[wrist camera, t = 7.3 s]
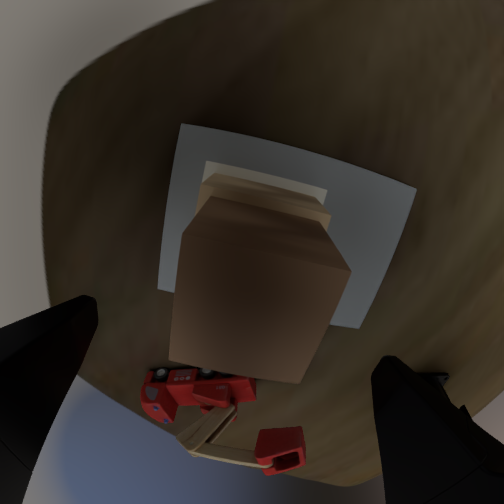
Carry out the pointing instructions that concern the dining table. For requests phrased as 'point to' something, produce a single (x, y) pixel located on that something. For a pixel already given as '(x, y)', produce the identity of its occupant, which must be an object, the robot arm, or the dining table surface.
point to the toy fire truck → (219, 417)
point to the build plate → (303, 181)
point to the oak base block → (262, 197)
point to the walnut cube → (254, 291)
